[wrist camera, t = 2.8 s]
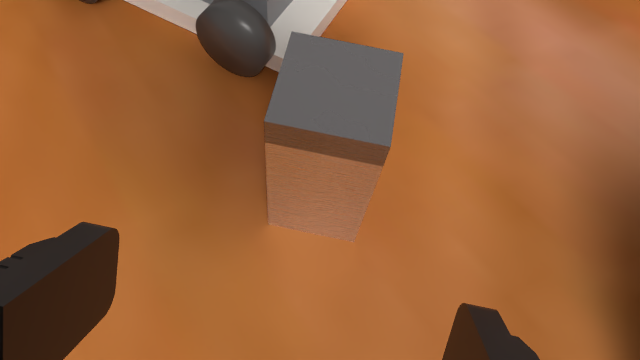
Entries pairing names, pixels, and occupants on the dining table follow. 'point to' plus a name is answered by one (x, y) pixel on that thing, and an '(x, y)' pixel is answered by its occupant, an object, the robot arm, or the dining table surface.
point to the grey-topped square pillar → (328, 133)
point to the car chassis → (245, 27)
